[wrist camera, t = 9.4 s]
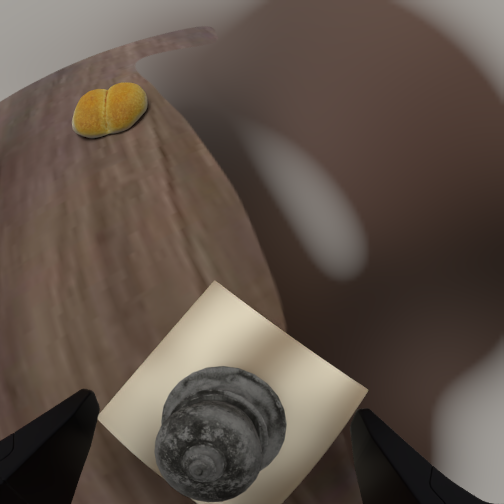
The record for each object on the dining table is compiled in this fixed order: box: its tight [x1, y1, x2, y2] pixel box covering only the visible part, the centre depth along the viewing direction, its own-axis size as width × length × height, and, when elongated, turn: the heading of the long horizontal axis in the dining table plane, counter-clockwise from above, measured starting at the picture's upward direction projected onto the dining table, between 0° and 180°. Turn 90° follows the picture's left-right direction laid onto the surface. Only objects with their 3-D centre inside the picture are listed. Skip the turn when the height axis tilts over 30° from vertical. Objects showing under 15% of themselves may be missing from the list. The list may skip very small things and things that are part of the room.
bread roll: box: [72, 83, 148, 138], centre depth 29 cm, size 8×9×4 cm
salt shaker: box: [154, 366, 287, 502], centre depth 10 cm, size 6×6×12 cm
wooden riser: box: [98, 281, 368, 504], centre depth 17 cm, size 12×12×2 cm
